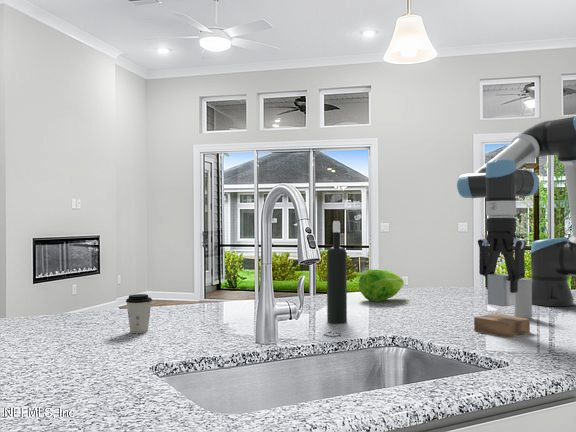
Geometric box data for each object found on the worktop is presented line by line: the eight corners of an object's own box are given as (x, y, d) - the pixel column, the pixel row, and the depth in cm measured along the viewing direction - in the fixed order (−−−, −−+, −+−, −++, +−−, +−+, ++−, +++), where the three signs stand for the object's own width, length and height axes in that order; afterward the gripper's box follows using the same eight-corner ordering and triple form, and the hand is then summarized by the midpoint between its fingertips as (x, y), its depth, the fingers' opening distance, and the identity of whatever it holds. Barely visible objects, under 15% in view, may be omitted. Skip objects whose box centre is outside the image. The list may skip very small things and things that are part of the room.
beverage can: (533, 319, 155) (533, 279, 155) (516, 319, 156) (516, 279, 156) (529, 316, 159) (529, 277, 159) (513, 316, 160) (512, 277, 160)
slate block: (499, 302, 142) (499, 273, 142) (515, 305, 138) (515, 275, 138) (487, 304, 140) (487, 274, 140) (503, 306, 135) (503, 276, 135)
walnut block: (496, 327, 146) (496, 313, 146) (529, 333, 137) (529, 318, 137) (474, 331, 140) (474, 317, 140) (508, 338, 132) (508, 323, 132)
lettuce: (416, 300, 193) (416, 268, 193) (376, 305, 182) (376, 271, 182) (390, 295, 204) (390, 265, 204) (351, 300, 194) (351, 268, 194)
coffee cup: (157, 330, 142) (157, 294, 142) (142, 335, 136) (142, 297, 136) (136, 328, 145) (135, 293, 145) (120, 333, 138) (120, 296, 138)
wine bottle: (350, 321, 153) (350, 220, 153) (338, 324, 149) (338, 220, 149) (335, 319, 157) (334, 220, 157) (323, 321, 153) (322, 220, 153)
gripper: (464, 217, 145) (465, 300, 145) (522, 216, 129) (522, 309, 129) (482, 217, 148) (483, 297, 148) (540, 216, 133) (541, 306, 133)
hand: (501, 303), depth 139 cm, fingers closed on slate block, 5 cm apart
